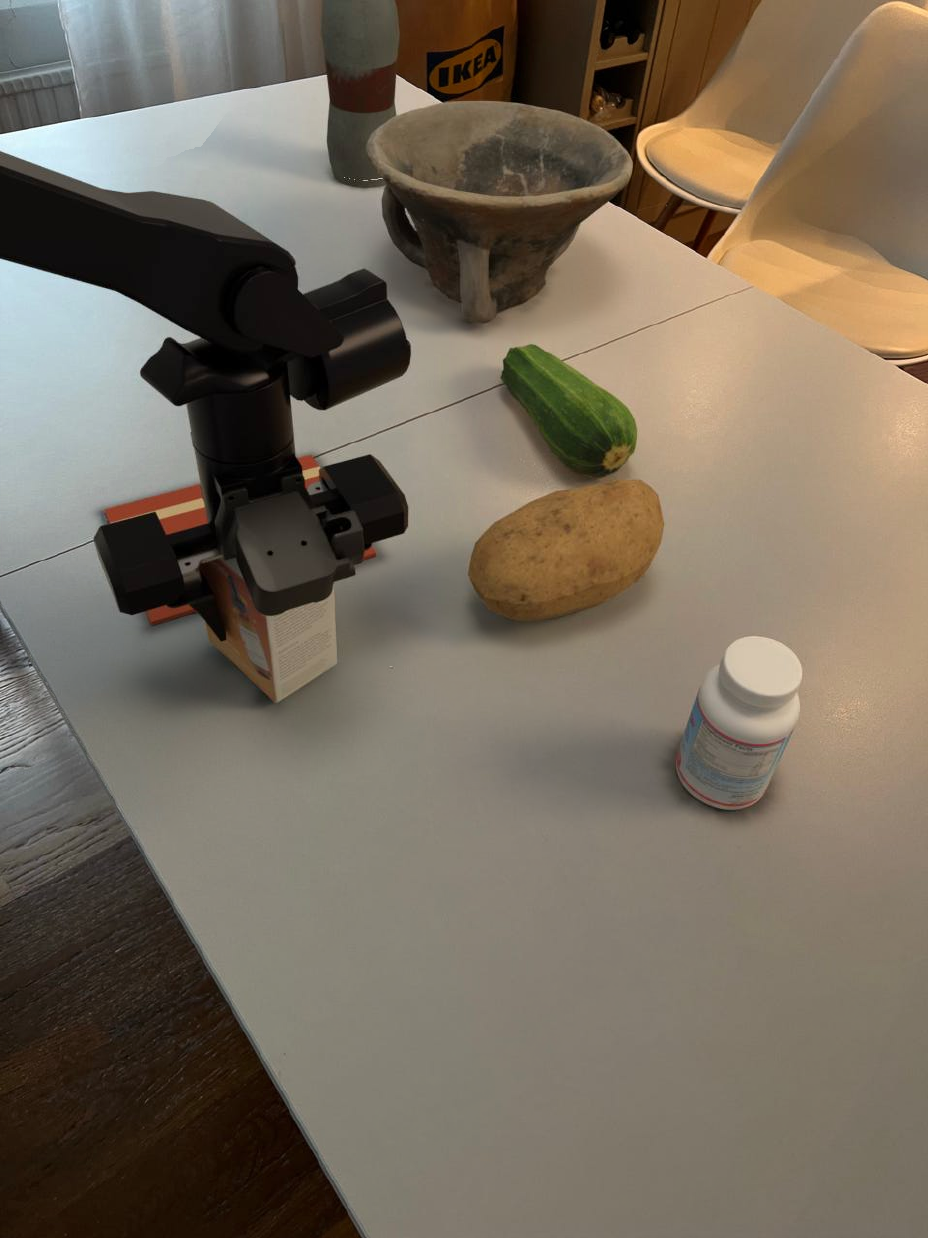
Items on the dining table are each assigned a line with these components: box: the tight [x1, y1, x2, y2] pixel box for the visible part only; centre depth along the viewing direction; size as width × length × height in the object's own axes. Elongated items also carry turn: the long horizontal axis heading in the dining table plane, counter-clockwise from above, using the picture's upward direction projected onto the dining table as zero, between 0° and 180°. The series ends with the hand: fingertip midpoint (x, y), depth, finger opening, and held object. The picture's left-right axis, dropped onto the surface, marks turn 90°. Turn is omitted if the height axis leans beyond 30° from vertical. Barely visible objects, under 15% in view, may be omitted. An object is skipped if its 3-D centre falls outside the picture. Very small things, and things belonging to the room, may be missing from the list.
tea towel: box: [103, 454, 377, 626], centre depth 81 cm, size 18×14×1 cm
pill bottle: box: [675, 635, 803, 811], centre depth 62 cm, size 6×6×11 cm
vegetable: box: [499, 343, 638, 479], centre depth 90 cm, size 7×7×20 cm
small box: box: [201, 558, 338, 704], centre depth 67 cm, size 8×6×10 cm
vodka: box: [320, 0, 401, 189], centre depth 119 cm, size 9×9×30 cm
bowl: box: [366, 100, 634, 324], centre depth 106 cm, size 27×26×15 cm
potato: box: [467, 478, 665, 622], centre depth 74 cm, size 9×16×9 cm, turn 113°
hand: (268, 621), depth 69 cm, fingers closed on small box, 6 cm apart
